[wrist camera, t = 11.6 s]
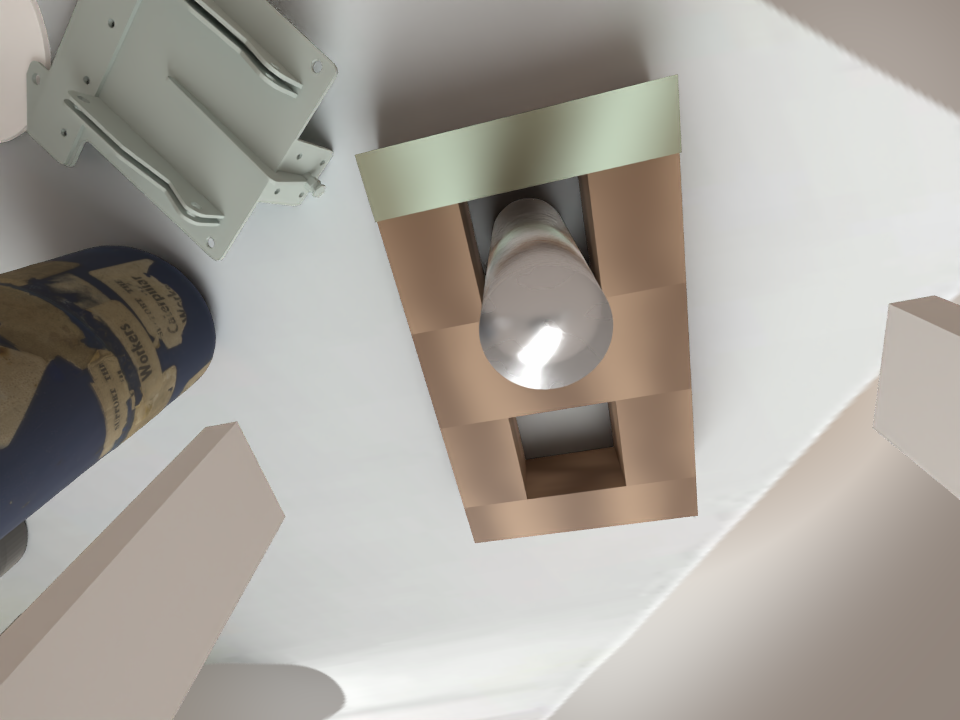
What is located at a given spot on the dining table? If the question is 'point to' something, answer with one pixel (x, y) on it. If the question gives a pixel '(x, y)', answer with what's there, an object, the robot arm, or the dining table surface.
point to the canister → (89, 363)
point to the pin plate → (616, 267)
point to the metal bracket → (187, 106)
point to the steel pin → (541, 301)
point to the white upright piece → (19, 61)
